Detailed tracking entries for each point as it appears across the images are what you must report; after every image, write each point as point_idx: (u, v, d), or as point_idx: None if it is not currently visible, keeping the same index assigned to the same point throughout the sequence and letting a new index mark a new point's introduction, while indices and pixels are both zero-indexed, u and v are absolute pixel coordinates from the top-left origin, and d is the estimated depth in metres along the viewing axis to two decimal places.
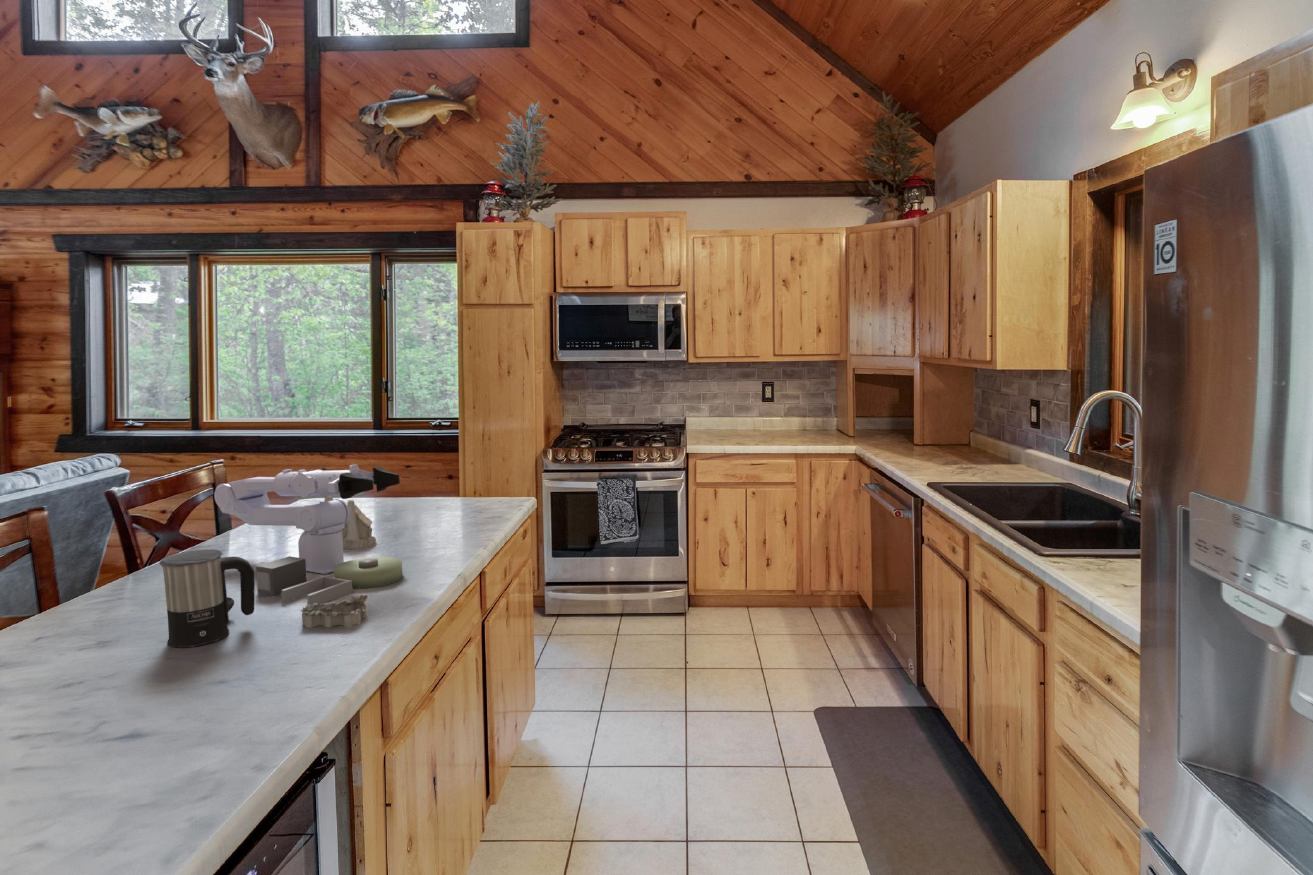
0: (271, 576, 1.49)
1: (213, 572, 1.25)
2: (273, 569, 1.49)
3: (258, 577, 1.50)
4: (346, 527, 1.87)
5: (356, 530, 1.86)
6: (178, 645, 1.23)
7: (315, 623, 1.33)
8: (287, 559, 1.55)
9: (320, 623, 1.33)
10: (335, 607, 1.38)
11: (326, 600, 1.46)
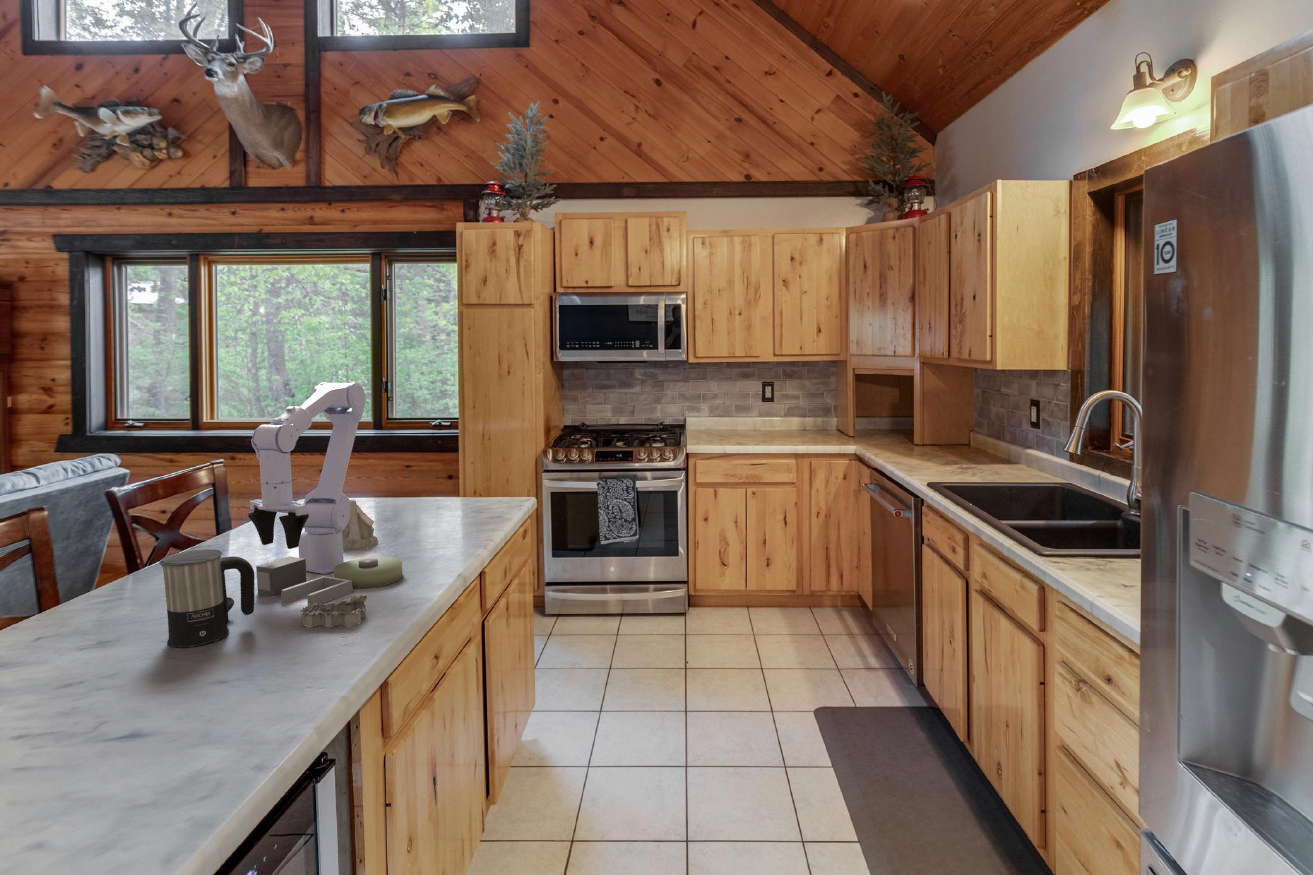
0: (271, 576, 1.49)
1: (213, 572, 1.25)
2: (273, 569, 1.49)
3: (258, 577, 1.50)
4: (348, 527, 1.87)
5: (358, 530, 1.86)
6: (178, 645, 1.23)
7: (315, 623, 1.33)
8: (287, 559, 1.55)
9: (320, 623, 1.33)
10: (334, 607, 1.38)
11: (326, 600, 1.46)
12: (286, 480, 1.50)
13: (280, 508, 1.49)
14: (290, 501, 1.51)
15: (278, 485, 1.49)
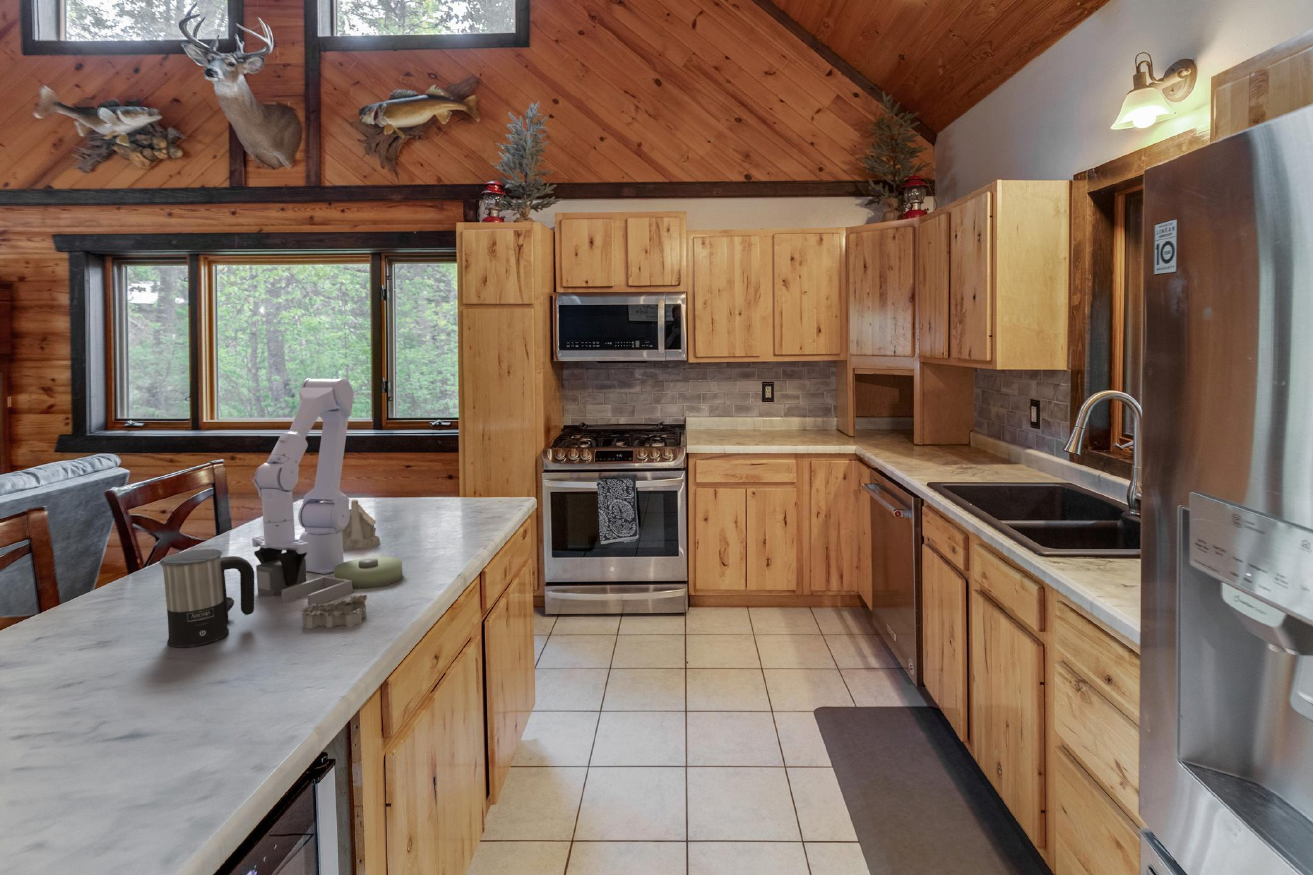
0: (271, 575, 1.49)
1: (213, 572, 1.25)
2: (273, 568, 1.49)
3: (258, 576, 1.50)
4: (350, 526, 1.88)
5: (360, 530, 1.86)
6: (178, 645, 1.23)
7: (316, 623, 1.33)
8: None
9: (321, 623, 1.33)
10: (334, 607, 1.38)
11: (326, 600, 1.46)
12: (288, 518, 1.51)
13: (282, 546, 1.50)
14: (292, 539, 1.52)
15: (280, 523, 1.50)
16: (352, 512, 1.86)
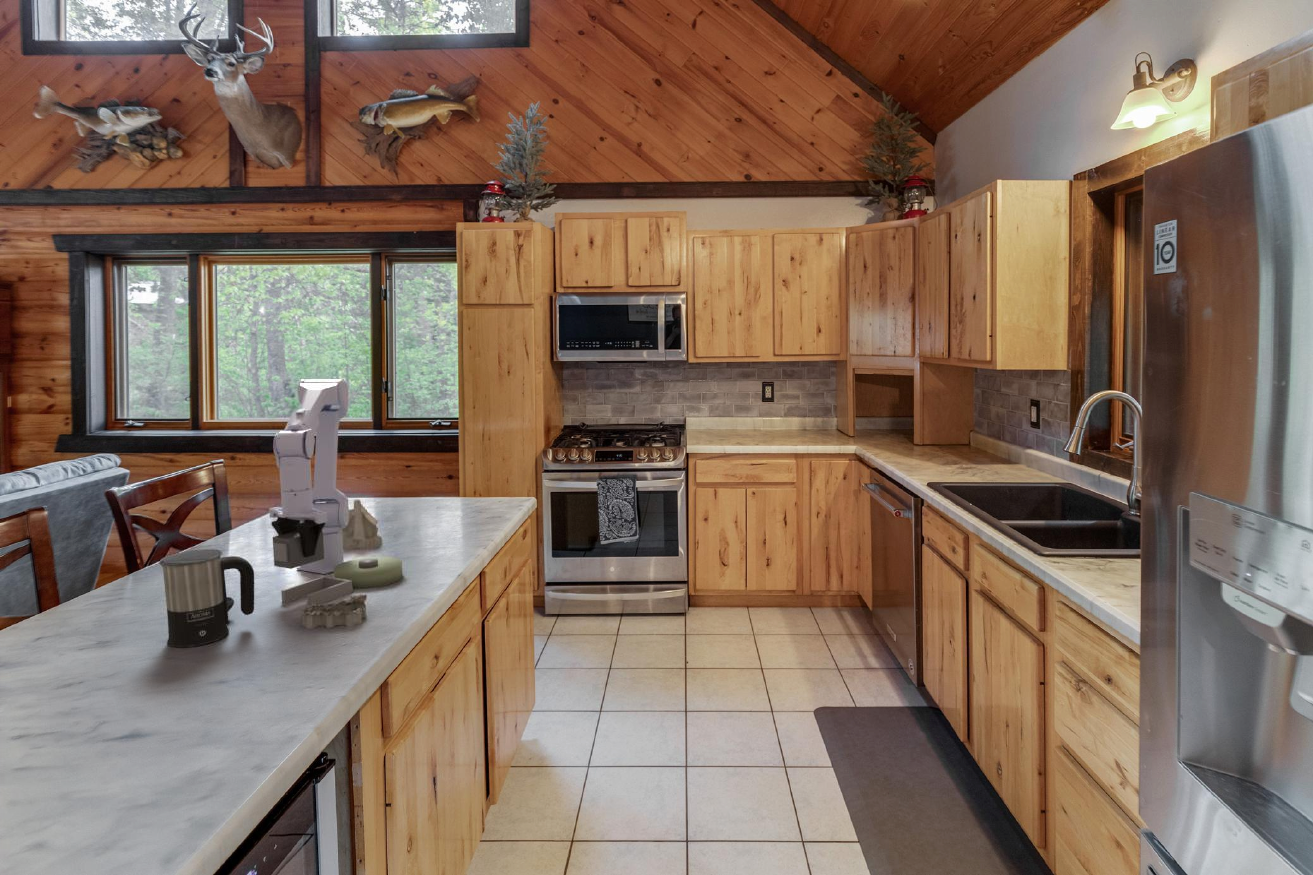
0: (288, 547, 1.45)
1: (213, 572, 1.25)
2: (290, 540, 1.45)
3: (275, 548, 1.46)
4: (352, 526, 1.88)
5: (362, 529, 1.87)
6: (178, 645, 1.23)
7: (316, 623, 1.33)
8: None
9: (321, 623, 1.33)
10: (334, 607, 1.38)
11: (326, 600, 1.46)
12: (309, 486, 1.48)
13: (300, 516, 1.45)
14: (310, 509, 1.48)
15: (298, 492, 1.46)
16: (354, 512, 1.86)
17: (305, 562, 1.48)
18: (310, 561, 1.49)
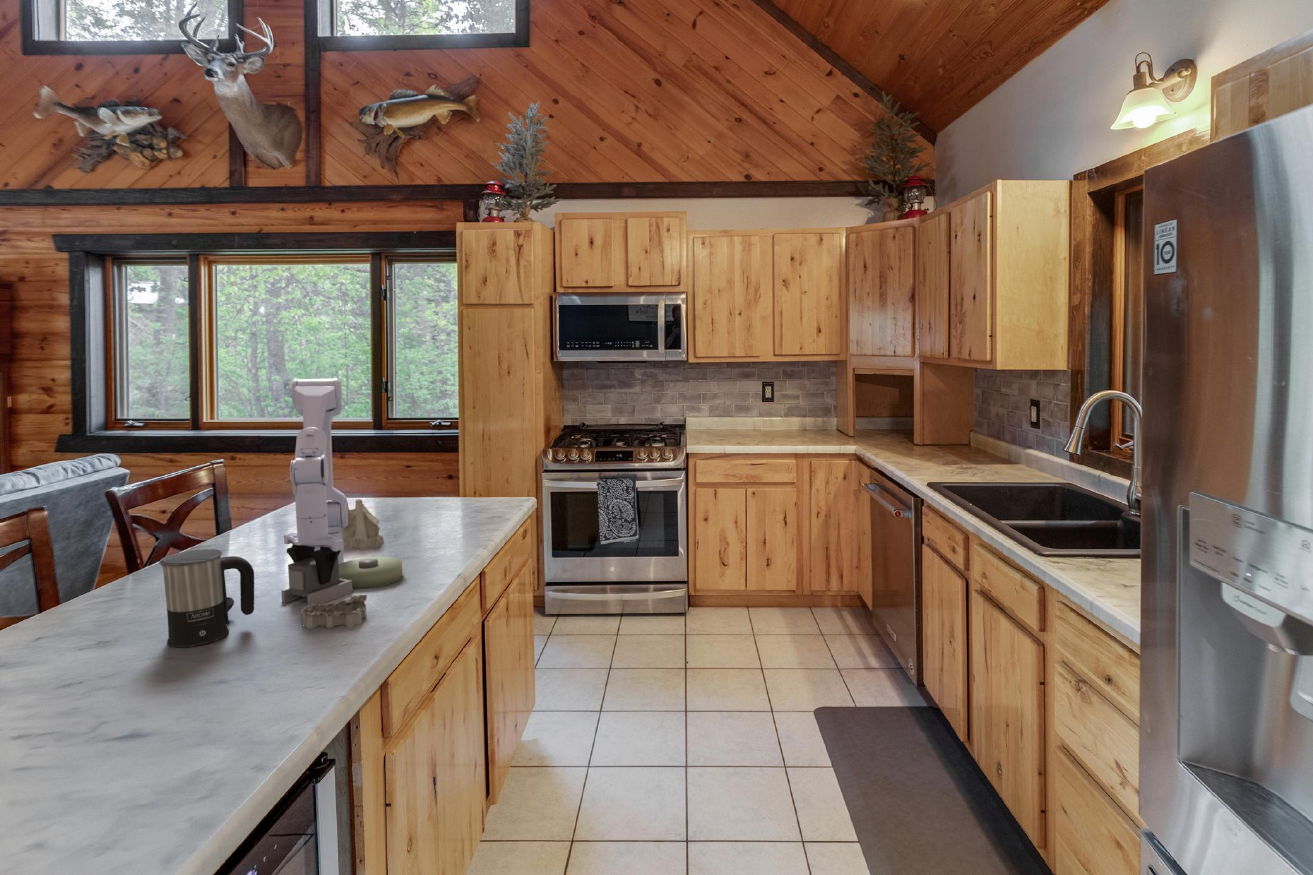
0: (304, 575, 1.43)
1: (213, 572, 1.25)
2: (306, 568, 1.43)
3: (290, 576, 1.44)
4: (354, 526, 1.88)
5: (364, 529, 1.87)
6: (178, 645, 1.23)
7: (316, 623, 1.33)
8: None
9: (321, 623, 1.33)
10: (333, 607, 1.38)
11: (326, 600, 1.46)
12: (326, 513, 1.47)
13: (316, 543, 1.44)
14: (326, 535, 1.47)
15: (314, 520, 1.44)
16: (356, 512, 1.86)
17: (321, 589, 1.47)
18: None
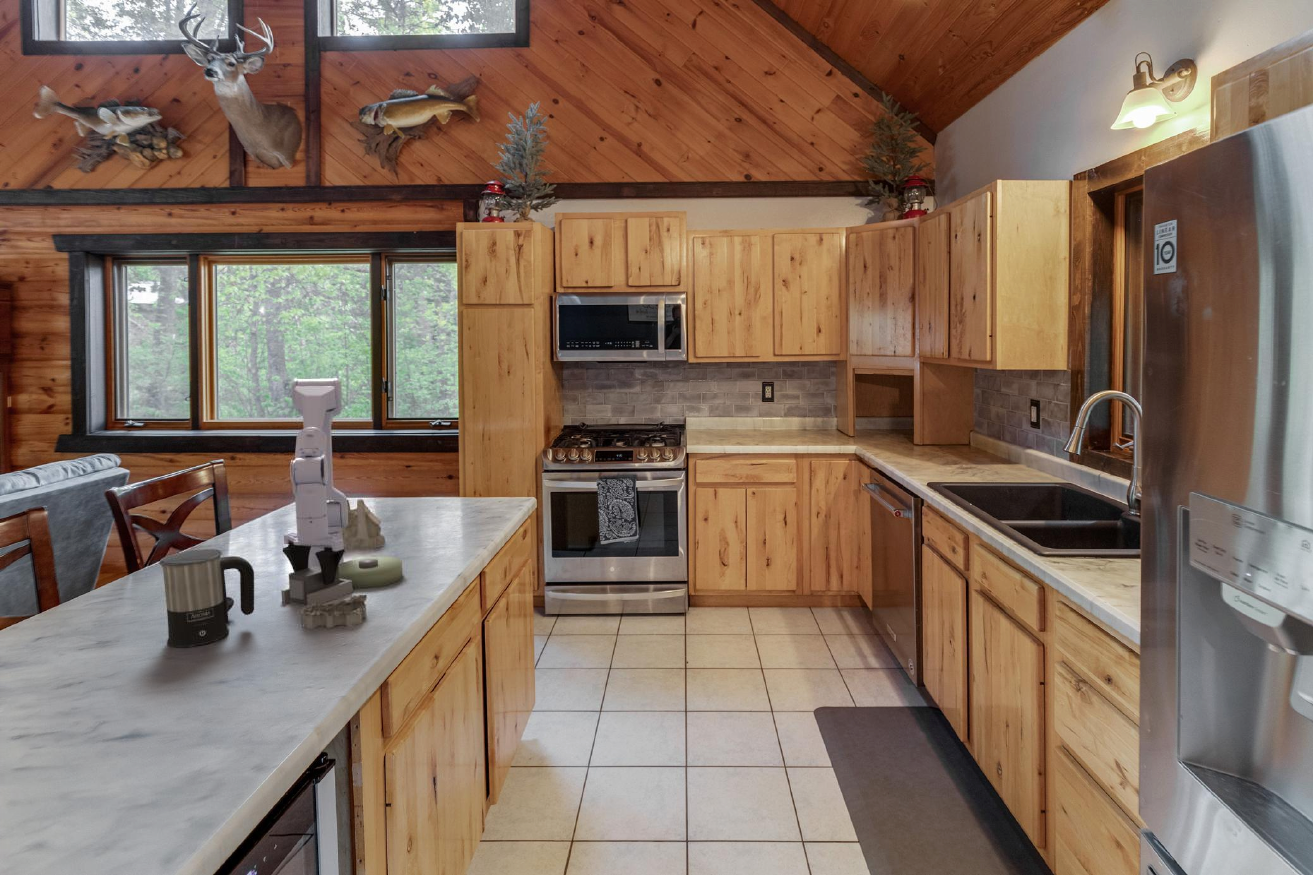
0: (304, 584, 1.43)
1: (213, 572, 1.25)
2: (307, 577, 1.43)
3: (291, 585, 1.44)
4: (356, 526, 1.88)
5: (366, 529, 1.87)
6: (178, 645, 1.23)
7: (316, 623, 1.33)
8: None
9: (321, 623, 1.33)
10: (333, 607, 1.38)
11: (326, 600, 1.46)
12: (326, 513, 1.47)
13: (316, 543, 1.44)
14: (326, 535, 1.47)
15: (314, 520, 1.44)
16: (358, 511, 1.87)
17: None
18: None
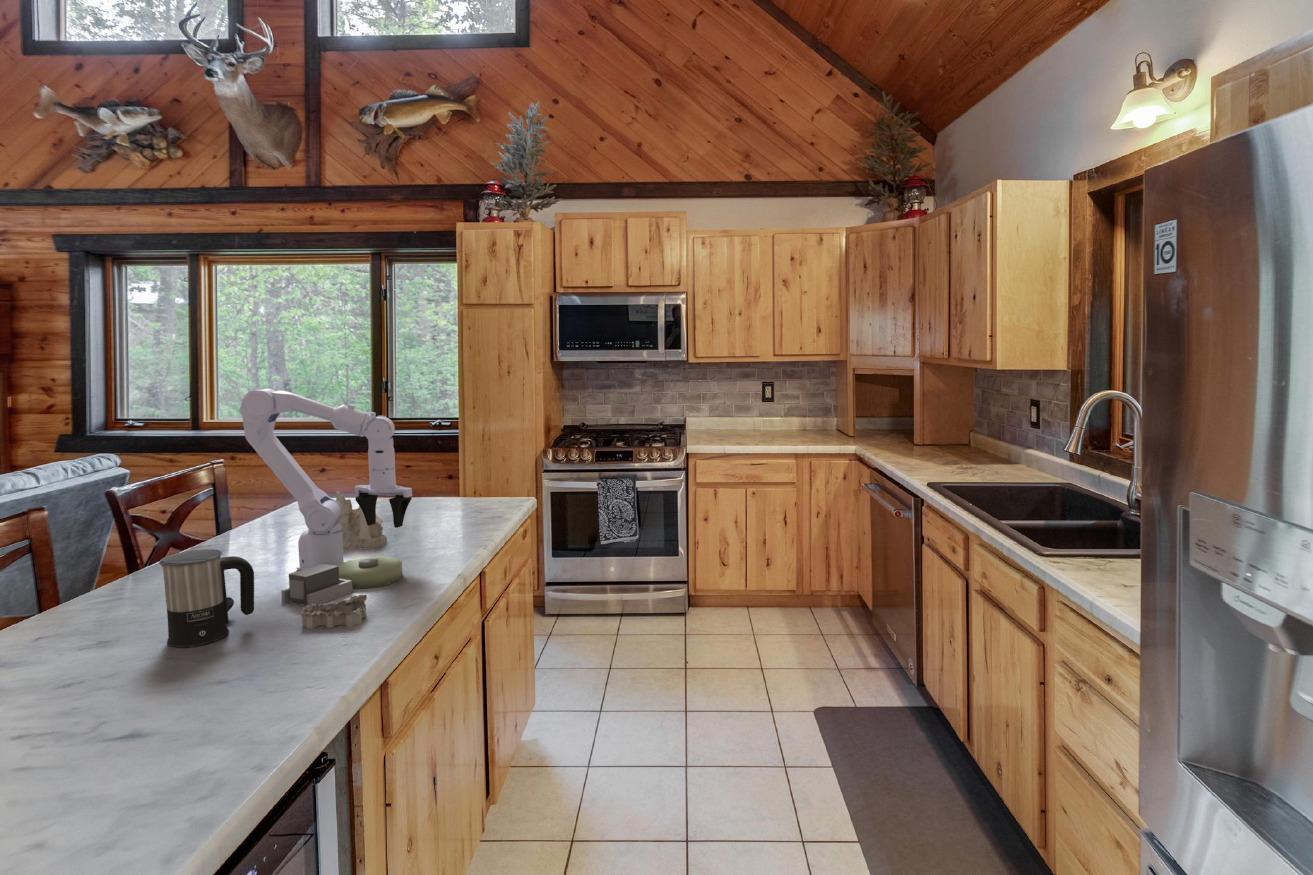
0: (304, 584, 1.43)
1: (213, 572, 1.25)
2: (307, 577, 1.43)
3: (291, 585, 1.44)
4: (358, 526, 1.89)
5: (368, 529, 1.87)
6: (178, 645, 1.23)
7: (316, 623, 1.33)
8: (320, 566, 1.50)
9: (321, 623, 1.33)
10: (333, 607, 1.38)
11: (326, 600, 1.46)
12: None
13: (389, 491, 1.67)
14: (395, 485, 1.70)
15: (386, 471, 1.67)
16: (360, 511, 1.87)
17: None
18: None
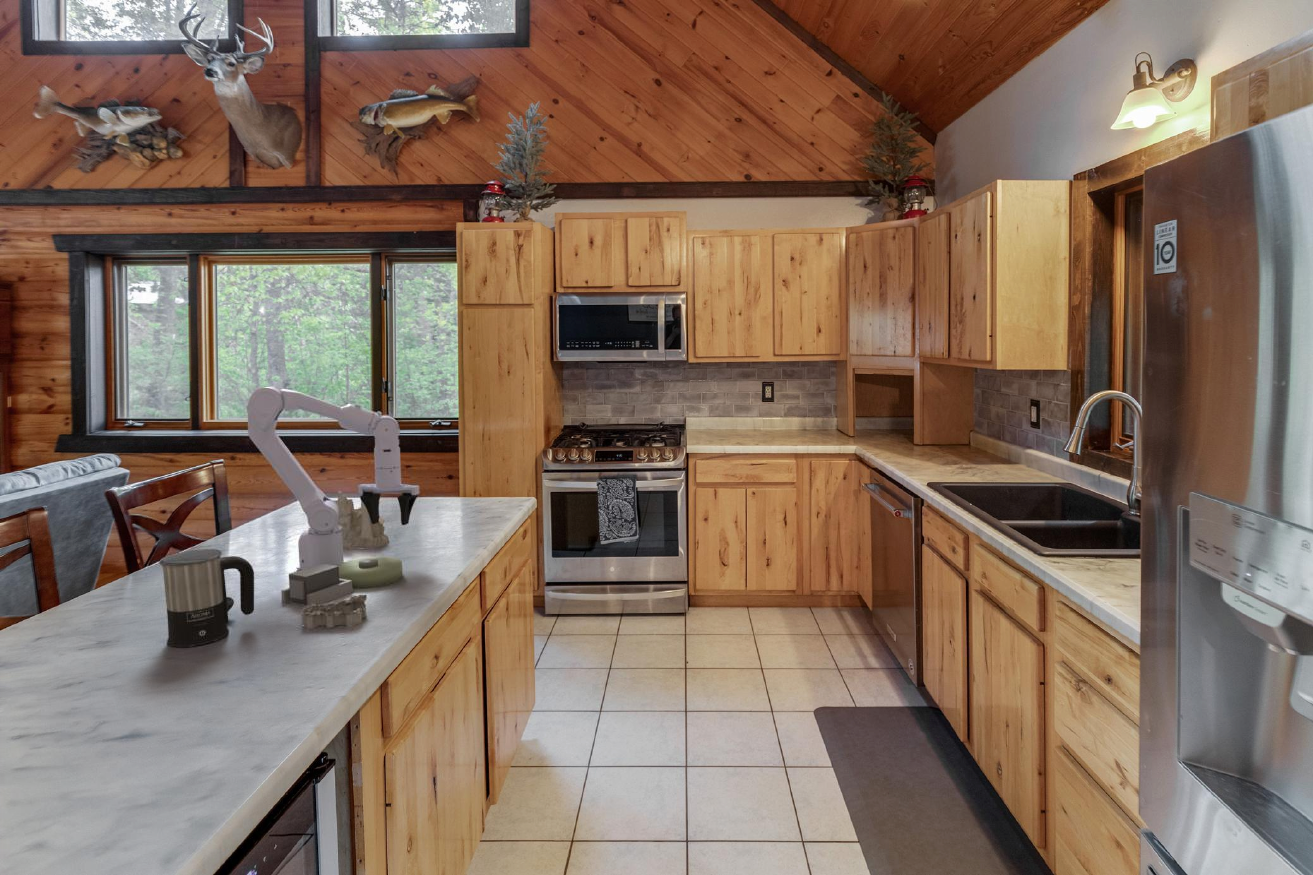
0: (304, 584, 1.43)
1: (213, 572, 1.25)
2: (307, 577, 1.43)
3: (291, 585, 1.44)
4: (360, 525, 1.89)
5: (370, 528, 1.88)
6: (178, 645, 1.23)
7: (316, 623, 1.33)
8: (320, 566, 1.50)
9: (321, 623, 1.33)
10: (333, 607, 1.38)
11: (326, 600, 1.46)
12: None
13: (397, 489, 1.70)
14: None
15: (394, 469, 1.70)
16: (362, 511, 1.87)
17: None
18: None
